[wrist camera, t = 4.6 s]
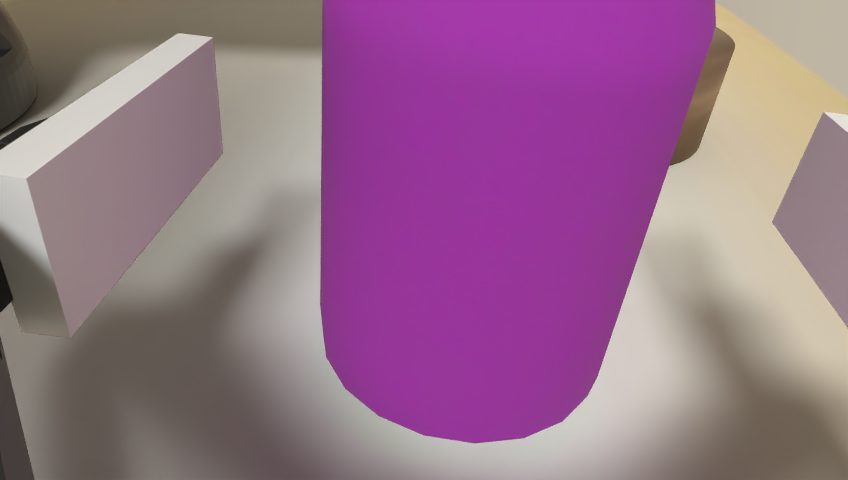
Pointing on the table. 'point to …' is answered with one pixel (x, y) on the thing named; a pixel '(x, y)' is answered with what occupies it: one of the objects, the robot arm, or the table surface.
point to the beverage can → (491, 196)
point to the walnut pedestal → (704, 96)
